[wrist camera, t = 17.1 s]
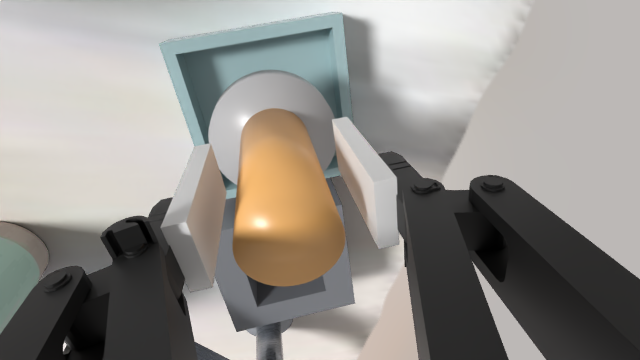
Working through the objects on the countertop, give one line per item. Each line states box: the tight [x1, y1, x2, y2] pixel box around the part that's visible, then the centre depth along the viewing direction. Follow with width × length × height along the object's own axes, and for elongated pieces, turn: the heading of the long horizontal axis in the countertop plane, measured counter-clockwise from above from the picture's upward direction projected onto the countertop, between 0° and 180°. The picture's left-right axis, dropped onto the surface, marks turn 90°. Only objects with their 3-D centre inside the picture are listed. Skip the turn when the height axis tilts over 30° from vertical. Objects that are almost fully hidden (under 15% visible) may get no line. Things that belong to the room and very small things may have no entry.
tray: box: [159, 12, 353, 199], centre depth 24 cm, size 11×11×2 cm
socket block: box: [214, 178, 355, 336], centre depth 30 cm, size 18×11×5 cm, turn 8°
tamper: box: [208, 70, 345, 286], centre depth 18 cm, size 7×7×15 cm
